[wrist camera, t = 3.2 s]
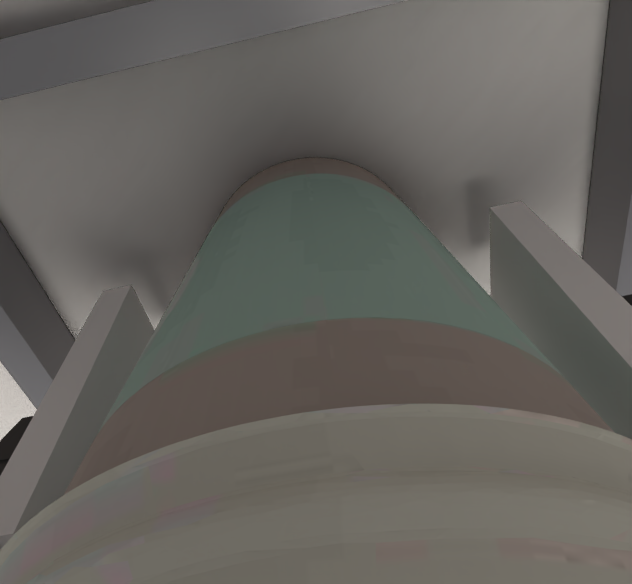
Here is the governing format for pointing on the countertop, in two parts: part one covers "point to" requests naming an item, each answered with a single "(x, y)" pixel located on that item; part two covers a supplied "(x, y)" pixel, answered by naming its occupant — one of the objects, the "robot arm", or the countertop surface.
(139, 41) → the divided tray
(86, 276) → the countertop surface
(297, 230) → the coffee cup
